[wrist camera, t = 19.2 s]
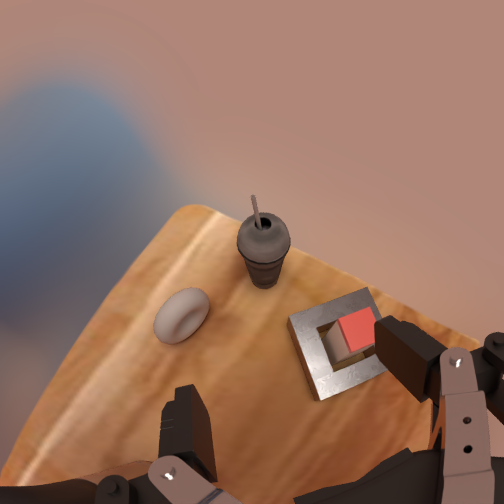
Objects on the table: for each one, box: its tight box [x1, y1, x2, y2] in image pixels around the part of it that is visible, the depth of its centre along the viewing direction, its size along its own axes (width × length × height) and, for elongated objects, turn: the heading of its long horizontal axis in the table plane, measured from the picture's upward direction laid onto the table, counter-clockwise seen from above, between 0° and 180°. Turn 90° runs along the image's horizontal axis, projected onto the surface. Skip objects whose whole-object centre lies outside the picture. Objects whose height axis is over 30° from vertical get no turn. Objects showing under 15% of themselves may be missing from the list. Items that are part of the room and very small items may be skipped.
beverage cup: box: [237, 195, 290, 289], centre depth 41 cm, size 7×7×20 cm
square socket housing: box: [287, 287, 388, 401], centre depth 40 cm, size 13×13×5 cm
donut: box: [154, 288, 209, 344], centre depth 41 cm, size 10×4×10 cm, turn 139°
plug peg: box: [321, 307, 376, 365], centre depth 37 cm, size 4×4×12 cm
